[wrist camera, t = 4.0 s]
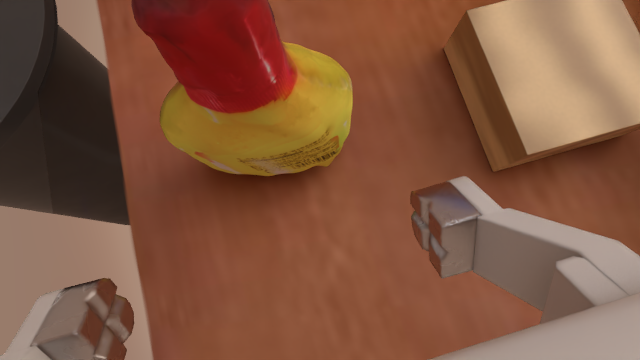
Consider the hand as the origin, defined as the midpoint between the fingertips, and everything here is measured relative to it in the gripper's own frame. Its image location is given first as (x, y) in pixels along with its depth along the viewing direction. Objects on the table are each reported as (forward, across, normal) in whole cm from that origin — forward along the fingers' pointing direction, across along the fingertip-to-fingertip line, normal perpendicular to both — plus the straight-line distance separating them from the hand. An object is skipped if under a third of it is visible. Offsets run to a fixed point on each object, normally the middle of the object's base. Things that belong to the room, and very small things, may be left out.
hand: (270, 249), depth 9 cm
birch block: (+19, -23, +8) cm, 31 cm away
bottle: (+20, 0, +7) cm, 21 cm away
